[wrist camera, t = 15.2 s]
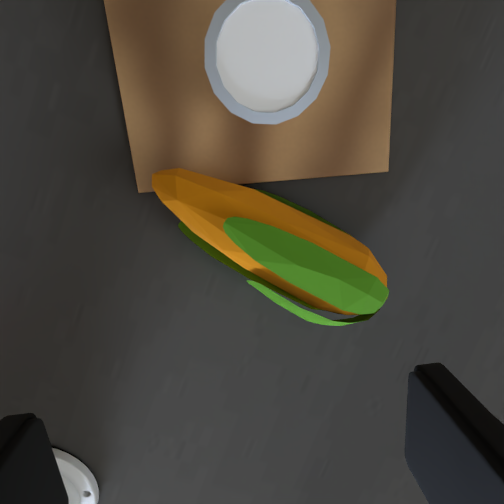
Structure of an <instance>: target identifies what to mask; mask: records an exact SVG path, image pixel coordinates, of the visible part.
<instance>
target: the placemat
mask: <svg viewBox="0 0 504 504" xmlns="http://www.w3.org/2000/svg"><path fill="white" fill-rule="evenodd" d="M225 1H226V0H104V5H105V10H106V16H107V21H108V27H109V32H110V38H111V43H112V49H113V54H114V60H115V66H116V71H117V77H118V82H119V88H120V93H121V99H122V104H123V110H124V115H125V121H126V126H127V132H128V138H129V143H130V149H131V154H132V160H133V165H134V171H135V176H136V182H137V187H138V192H139V193H143V192H155V191H154V189H153V188H152V174H153V173H156V172H158V171H161V170H167V169H175V168H182V169H185V170H189V171H192V172H196V173H199V174H202V175H206V176H209V177H213V178H216V179H220V180H223V181H227V182H230V183H234V184H249V183H261V182H273V181H284V180H296V179H308V178H320V177H331V176H343V175H355V174H367V173H378V172H388V166H389V145H390V123H391V102H392V80H393V58H394V37H395V15H396V0H310V1H311V3H312V4H313V6H314V7H315V8H316V10H317V11H318V12H319V14H320V15H321V17H322V18H323V19H324V23H325V27H326V31H327V35H328V39H329V43H330V47H331V48H330V58H329V68H328V75H327V77H326V80H325V82H324V84H323V86H322V88H321V90H320V92H319V94H318V96H317V98H316V99H315V100H314V101H313V102H312V103H311V104H310V105H309V106H308V107H307V108H306V109H305V110H304V111H303V112H302V113H301V114H300V115H299V116H297V117H294V118H292V119H289V120H286V121H284V122H281V123H279V124H255V123H251V122H249V121H247V120H245V119H243V118H241V117H239V116H237V115H235V114H233V113H231V112H230V111H229V110H228V109H227V108H226V106H225V105H224V104H223V103H222V102H221V101H220V100H219V98H218V97H217V96H216V95H215V94H214V92H213V89H212V86H211V84H210V81H209V78H208V75H207V73H206V70H205V37H206V34H207V31H208V29H209V26H210V23H211V21H212V18H213V15H214V13H215V11H216V10H217V9H218V8H219V7H220V6H221V5H222V4H223V3H224V2H225Z"/></svg>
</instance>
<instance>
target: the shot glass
mask: <svg viewBox="0 0 504 504" xmlns="http://www.w3.org/2000/svg"><path fill="white" fill-rule="evenodd" d="M330 48H331V47H330V43H329V39H328V35H327V31H326V27H325V23H324V19H323V18H322V17H321V15H320V14H319V12H318V11H317V10H316V8H315V7H314V6H313V4H312V3H311V1H310V0H226V1H225V2H224V3H223V4H222V5H221V6H220V7H219V8H218V9H217V10H216V11H215V13H214V15H213V18H212V21H211V23H210V26H209V29H208V31H207V34H206V37H205V70H206V73H207V75H208V78H209V81H210V84H211V86H212V89H213V92H214V94H215V95H216V96H217V97H218V98H219V100H220V101H221V102H222V103H223V104H224V105H225V106H226V108H227V109H228V110H229V111H230V112H231V113H233V114H235V115H237V116H239V117H241V118H243V119H245V120H247V121H249V122H251V123H255V124H279V123H281V122H284V121H286V120H289V119H292V118H294V117H297V116H299V115H300V114H301V113H302V112H303V111H304V110H305V109H306V108H307V107H308V106H309V105H310V104H311V103H312V102H313V101H314V100H315V99H316V98H317V96H318V94H319V92H320V90H321V88H322V86H323V84H324V82H325V80H326V77H327V75H328V68H329V58H330Z"/></svg>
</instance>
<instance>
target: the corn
mask: <svg viewBox="0 0 504 504" xmlns="http://www.w3.org/2000/svg"><path fill="white" fill-rule="evenodd" d="M152 188H153V189H154V191H155V192H156V194H157V195H158V197H159V198H160V200H161V201H162V202H163V203H164V204H165V205H166V206H167V207H168V208H169V209H170V210H171V211H172V212H173V213H174V214H175V215H176V216H177V217H178V218H179V219H180V220H181V222H180V223H179V224H178V227H179V228H180V230H181V231H182V232H183V233H184V234H185V235H186V236H187V237H188V238H189V239H190V240H191V241H193V242H194V243H195V244H196V245H198V246H199V247H200V248H201V249H203V250H204V251H205V252H206V253H208V254H209V255H210V256H212V257H213V258H215V259H217V260H218V261H220V262H222V263H224V264H225V265H227V266H229V267H230V268H232V269H234V270H235V271H237V272H239V273H240V274H242V275H244V276H245V277H247V278H249V279H251V280H253V281H255V282H253V281H247V282H248V283H249V284H251V285H252V286H254V287H255V288H256V289H258V290H259V291H260V292H262V293H263V294H264V295H266V296H267V297H268V298H270V299H271V300H272V301H274V302H275V303H277V304H278V305H280V306H282V307H284V308H285V309H287V310H289V311H291V312H292V313H294V314H296V315H297V316H299V317H301V318H303V319H304V320H306V321H310V322H314V323H317V324H321V325H335V326H342V325H347V324H352V323H356V322H361V321H366V320H369V319H370V318H371V317H372V316H373V315H374V314H375V313H377V312H378V311H379V310H380V309H379V308H380V307H381V306H382V305H383V304H384V302H385V301H386V299H387V298H388V294H389V290H388V289H387V275H386V274H385V272H384V271H383V269H382V268H381V266H380V265H379V263H378V262H377V260H376V259H375V257H374V256H373V254H372V253H371V251H370V250H369V248H368V247H366V246H365V245H363V244H362V243H360V242H359V241H358V240H356V239H355V238H353V237H352V236H351V235H349V234H348V233H346V232H344V231H343V230H341V229H340V228H338V227H336V226H335V225H333V224H331V223H330V222H328V221H326V220H325V219H323V218H321V217H320V216H318V215H316V214H315V213H313V212H312V211H310V210H307V209H305V208H303V207H301V206H299V205H297V204H295V203H292V202H290V201H288V200H286V199H284V198H282V197H280V196H277V195H274V194H271V193H268V192H266V191H263V190H255V189H251V188H247V187H244V186H241V185H237V184H234V183H230V182H227V181H223V180H220V179H216V178H213V177H209V176H206V175H202V174H199V173H196V172H192V171H189V170H185V169H182V168H175V169H167V170H161V171H158V172H156V173H153V174H152ZM268 288H269V289H268ZM270 289H272V290H274V291H276V292H278V293H280V294H282V295H284V296H286V297H288V298H290V299H292V300H294V301H296V302H298V303H300V304H302V305H304V306H306V307H308V308H311V309H316V310H326V311H330V312H333V313H338V314H344V315H359V316H356V317H354V318H348V319H340V320H329V319H327V318H324V317H322V316H319V315H317V314H314V313H312V312H309V311H307V310H304V309H302V308H299V307H298V306H296V305H294V304H293V303H291V302H289V301H288V300H286V299H285V298H283V297H281V296H280V295H278V294H276V293H275V292H273V291H271V290H270Z"/></svg>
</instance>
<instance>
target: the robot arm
mask: <svg viewBox="0 0 504 504" xmlns="http://www.w3.org/2000/svg"><path fill="white" fill-rule="evenodd" d="M405 458H406V461H407V464H408V467H409V469H410V471H411V472H412V474H413V476H414V478H415V479H416V481H417V483H418V485H419V487H420V488H421V490H422V492H423V494H424V495H425V497H426V499H427V501H428V502H429V504H504V425H503V424H502V423H501V422H500V421H499V420H498V419H497V418H496V417H494V416H493V415H492V414H491V413H490V412H489V411H488V410H487V409H486V408H485V407H484V406H483V405H482V404H481V403H480V402H479V401H478V400H477V399H476V398H475V397H474V396H473V395H472V394H471V393H470V392H469V391H468V390H467V389H466V388H465V387H464V386H463V384H462V383H461V382H460V381H459V380H458V379H457V378H456V377H455V376H454V375H453V374H452V373H451V372H450V371H449V370H448V369H447V368H446V367H445V366H444V365H442V364H441V363H431V364H423V365H417V366H416V367H415V369H414V372H410V373H409V379H408V398H407V417H406V436H405ZM98 499H99V489H98V485H97V482H96V480H95V478H94V476H93V474H92V473H91V472H90V470H89V469H88V468H87V467H86V466H85V465H84V464H83V463H82V462H81V461H79V460H78V459H77V458H75V457H73V456H72V455H70V454H68V453H66V452H63V451H61V450H59V449H55V448H52V447H51V444H50V441H49V438H48V435H47V432H46V429H45V426H44V423H43V421H42V420H41V419H40V418H36V416H35V415H34V414H33V413H26V414H18V415H10V416H6V417H4V418H3V419H2V420H1V421H0V504H97V503H98Z"/></svg>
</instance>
